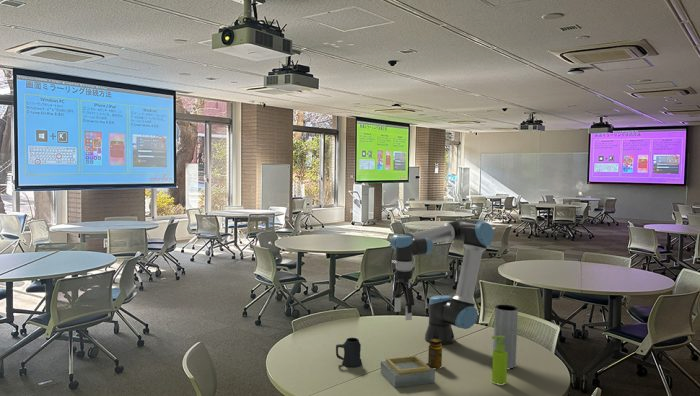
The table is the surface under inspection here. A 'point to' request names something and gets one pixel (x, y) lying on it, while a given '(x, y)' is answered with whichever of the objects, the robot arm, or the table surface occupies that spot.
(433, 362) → the condiment
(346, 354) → the mug
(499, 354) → the soap dispenser
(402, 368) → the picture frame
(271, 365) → the table surface
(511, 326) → the vase
